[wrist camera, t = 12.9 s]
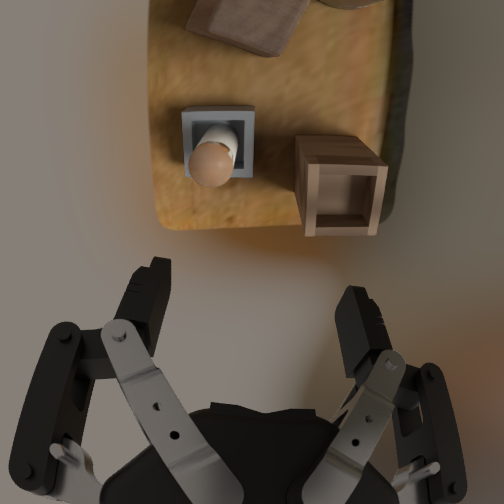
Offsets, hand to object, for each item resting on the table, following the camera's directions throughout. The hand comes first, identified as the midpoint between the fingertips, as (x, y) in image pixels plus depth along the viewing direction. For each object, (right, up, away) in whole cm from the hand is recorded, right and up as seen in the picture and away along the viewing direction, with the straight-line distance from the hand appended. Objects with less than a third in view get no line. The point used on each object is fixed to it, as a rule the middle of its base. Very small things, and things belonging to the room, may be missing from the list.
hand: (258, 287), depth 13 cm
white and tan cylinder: (-4, +14, +20) cm, 25 cm away
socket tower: (+9, +12, +22) cm, 27 cm away
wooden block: (-2, +26, +13) cm, 29 cm away
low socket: (-4, +15, +20) cm, 26 cm away
